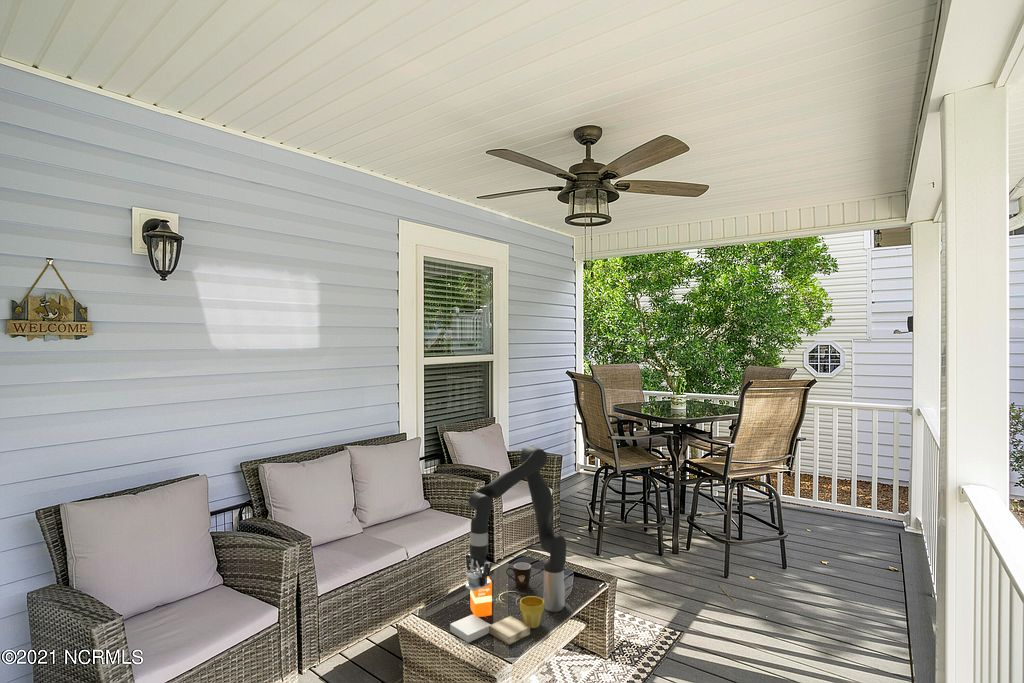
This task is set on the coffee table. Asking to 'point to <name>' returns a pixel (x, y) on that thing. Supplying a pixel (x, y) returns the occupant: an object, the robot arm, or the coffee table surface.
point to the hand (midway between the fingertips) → (477, 583)
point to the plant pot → (532, 610)
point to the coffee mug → (521, 575)
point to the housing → (475, 580)
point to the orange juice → (481, 601)
